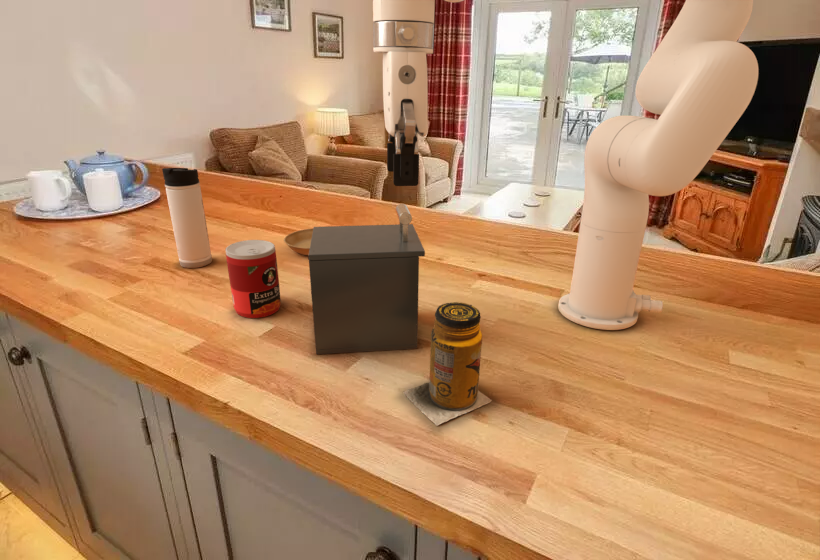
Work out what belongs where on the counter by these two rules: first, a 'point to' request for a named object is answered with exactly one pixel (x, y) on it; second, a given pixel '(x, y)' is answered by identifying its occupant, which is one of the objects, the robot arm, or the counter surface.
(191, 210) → the travel mug
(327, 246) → the lid
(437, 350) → the condiment
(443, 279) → the counter surface
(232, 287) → the canned food
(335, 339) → the bin
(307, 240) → the plant saucer
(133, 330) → the counter surface
